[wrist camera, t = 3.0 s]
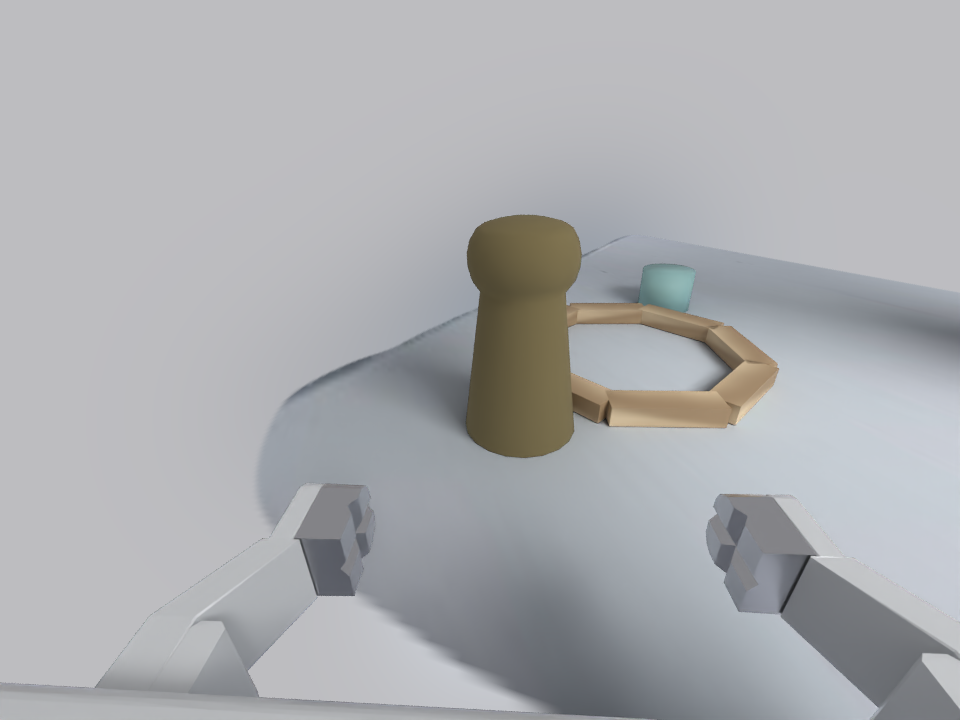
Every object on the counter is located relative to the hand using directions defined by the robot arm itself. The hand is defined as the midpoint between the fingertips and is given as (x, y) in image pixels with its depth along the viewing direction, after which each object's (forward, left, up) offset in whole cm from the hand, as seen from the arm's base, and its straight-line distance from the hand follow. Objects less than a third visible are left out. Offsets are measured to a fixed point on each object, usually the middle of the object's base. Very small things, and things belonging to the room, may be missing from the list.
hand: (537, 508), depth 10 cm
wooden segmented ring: (-8, -20, -6) cm, 22 cm away
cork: (0, -12, -6) cm, 14 cm away
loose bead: (-14, -31, -6) cm, 35 cm away
